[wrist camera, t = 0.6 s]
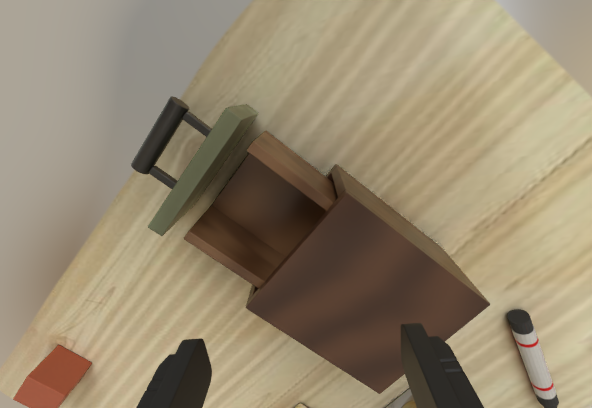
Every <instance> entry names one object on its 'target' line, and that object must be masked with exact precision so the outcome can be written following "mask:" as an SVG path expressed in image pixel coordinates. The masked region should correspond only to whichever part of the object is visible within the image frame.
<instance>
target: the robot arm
mask: <svg viewBox="0 0 592 408" xmlns="http://www.w3.org/2000/svg"><path fill="white" fill-rule="evenodd" d="M401 360H402V365H403V369H404V372H405V375H406V378H407V381H408V384H409V387H410V390H411V393H412V395H413V398H414V401H415V404H416V407H417V408H484V407H483V405H482V403H481V401H480V400H479V398H478V396H477V394H476V392H475V391H474V389H473V387H472V385H471V384H470V382H469V380H468V378H467V376H466V375H465V373H464V372H463V370H462V367H461V366H460V364H459V362H458V361H457V359H456V357H455V355H454V353H453V351H452V350H451V348H450V346H449V345H448V344H446V343H445V342H444V341H443V340H442V339H441V338H440V337H439V336H432V337H428V335H427V333H426V331H425V329H424V327H423V325H422V324H421V323H410V324H401ZM211 376H212V369H211V364H210V360H209V357H208V353H207V350H206V347H205V343H204V341H203V339H189V340H183V341H182V342H181V344H180V346H179V348H178V350H177V352H176V354H172V355H169V356H168V357H167V358H166V359H165V360H164V361H163V362H162V363H161V364H160V365H159V367H158V369H157V370H156V372H155V374H154V376H153V378H152V381H151V382H150V383H149V385H148V387H147V391H145V393H144V395H143V396H142V398H141V400H140V402H139V404H138V406H137V408H202V407H203V404H204V401H205V398H206V395H207V391H208V388H209V385H210V382H211Z"/></svg>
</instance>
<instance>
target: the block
mask: <svg viewBox="0 0 592 408" xmlns="http://www.w3.org/2000/svg"><path fill="white" fill-rule="evenodd" d="M91 364H92V363H91V362H90V361H88V360H86V359H84V358H82V357H80V356H79V355H77V354H75V353H73V352H71V351H69V350H67V349H66V348H64V347H62V346H60V345H58V346H57V347H56V348H55V349H54V350H53V351H52V352H51V353H50V354H49V355H48V356H47V357H46V358H45V359H44V360H43V361H42V362H41V363H40V364H39V365H38V366H37V367H36V368H35V369H34V370H33V371H32V372H31V373H30V374H29V375H28V376H27V377H26V379H25V381H24V382H23V384H22V385H21V387H20V389H19V390H18V392H17V394H16V395H15V397H14V398H13V400H15V401H17V402H19V403H21V404H23V405H25V406H27V407H29V408H59V406H60V405H61V404H62V403H63V401H64V400H65V399H66V398H67V396H68V395H69V394H70V393H71V391H72V390H73V389H74V388H75V386H76V385H77V384H78V382H79V381H80V380H81V378H82V377H83V375H84V374H85V373H86V371H87V370H88V368H89V367H90V366H91Z"/></svg>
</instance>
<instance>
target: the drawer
mask: <svg viewBox="0 0 592 408" xmlns="http://www.w3.org/2000/svg"><path fill="white" fill-rule="evenodd" d="M188 110H189V107H188V106H187V105H186V104H185V103H184V102H183V101H181V100H180V99H177V98H176V97H170V99H169V101H168V102H167V104H166V106H165V107H164V109H163V111H162V112H161V114H160V116H159V118H158V119H157V121H156V123H155V124H154V126H153V128H152V129H151V131H150V133H149V135H148V136H147V138H146V140H145V141H144V143H143V145H142V146H141V148H140V150H139V152H138V154H137V155H136V157H135V158H134V160H133V162H132V164H131V166H132V167H133V168H134V169H135V170H136V171H138V172H140V173H142V174H151V175H152V176H154V177H155V178H157V179H158V180H159V181H161V182H162V183H164V184H165V185H167V186H168V187H170V188H171V189H172V191H171V192H170V194H169V195H168V197H167V198H166V200H165V201H164V203H163V204H162V206H161V208H160V209H159V211H158V212H157V214H156V215H155V217H154V218H153V220H152V221H151V223H150V224H149V226H148V228H150V229H151V230H153V231H155V232H156V233H158V234H159V235H161V236H163V235H164V234H165V233H166V232H167V231H168V230H169V229H170V228H171V227H172V226H173V225H174V224H175V223H176V222H177V221H178V220H179V219H180V218H181V217H182V216H183V215H185V214H186V213H187V212H188V211H189V210H190V209H191V208H192V207H193V206H194V205H195V204H196V202H197V201H198V199H199V198H200V196H201V195H202V194H203V192H204V191H205V189H206V188H207V186H208V185H209V184H210V182H211V181H212V179H213V178H214V176H215V175H216V174H217V172H218V171H219V169H220V168H221V166H222V165H223V164H224V162H225V161H226V159H227V158H228V156H229V155H230V154H231V152H232V151H233V149H234V148H235V146H236V145H237V144H238V142H239V141H240V139H241V138H242V136H243V135H244V134H245V132H246V131H247V129H248V128H249V126H250V125H251V124H252V122H253V121H254V119H255V118H256V116H257V115H258V112H256V111H255V110H254V109H253V108H251V107H250V106H249V105H247V104H246V105H240V106H234V107H228V108H226V109H225V110H224V112H223V113H222V115H221V116H220V118H219V119H218V121H217V122H216V124H215V126H214V127H213V129H212V128H210V127H209V126H208V125H206V124H205V123H204V122H202V121H201V120H200V119H198V118H197V117H196V116H194V115H193V114H192V113H190V112H188ZM182 120H185V121H186V122H187V123H189V124H190V125H191V126H193V127H194V128H195V129H197V130H198V131H199V132H201V133H202V134H203V135H205V136H206V137H207V138H206V139H205V141H204V142H203V144H202V145H201V147H200V148H199V150H198V151H197V153H196V154H195V156H194V157H193V159H192V160H191V162H190V163H189V165H188V167H187V168H186V170H185V171H184V173H183V174H182V176H181V177H180V179H179V180H178V181H177V180H175V179H174V178H173V177H171V176H170V175H168V174H167V173H165V172H164V171H163V170H161V169H160V168H158V167H157V166H154V165H155V164H156V162H157V161H158V159H159V157H160V156H161V154H162V152H163V151H164V149H165V148H166V146H167V144H168V143H169V141H170V139H171V138H172V136H173V135H174V133H175V131H176V130H177V128H178V127H179V125H180V123H181V122H182ZM247 151H248V152H249V154H248V155H247V157H246V158H245V159H244V161H243V162H242V163H241V165H240V166H239V168H238V169H237V170H236V172H235V173H234V175H233V176H232V177H231V179H230V180H229V181H228V183H227V184H226V186H225V187H224V188H223V190H222V191H221V193H220V194H219V195H218V197H217V198H216V199H215V201H214V202H213V204H212V205H211V206H210V207H209V208H208V210H207V211H206V212H205V213H204V214H203V215H202V216H201V218H200V219H199V220H198V221H197V222H196V223H195V224H194V226H193V227H192V228H191V229H190V230H189V231H188V233H187V234H186V236H185V237H184V239H185V240H186V241H188V242H189V243H191V244H192V245H194V246H195V247H197V248H198V249H200V250H201V251H203V252H204V253H206V254H207V255H209V256H210V257H212V258H213V259H215V260H217V261H218V262H220V263H221V264H223V265H224V266H226V267H227V268H229V269H230V270H232V271H233V272H235V273H236V274H238V275H239V276H241V277H242V278H244V279H245V280H247V281H248V282H250V283H251V284H253V285H254V286H256V287H257V288H260V286H261V285H262V284H263V283H264V282H265V281H266V280H267V278H268V277H269V276H270V275H271V274H272V273H273V272H274V270H275V269H276V268H277V267H278V266H279V265H280V264H281V262H282V261H283V260H284V259H285V258H286V257H287V256H288V255H289V253H290V252H291V251H292V250H293V249H294V248H295V247H296V245H297V244H298V243H299V242H300V241H301V240H302V239H303V237H304V236H305V235H306V234H307V233H308V232H309V231H310V229H311V228H312V227H313V226H314V225H315V224H316V223H317V221H318V220H319V219H320V218H321V217H322V216H323V215H324V213H325V212H326V211H327V210H328V209H329V208H330V207H331V205H332V204H333V203H334V202H335V201H336V200H337V199H338V195H337V192H336V188H335V184H334V183H333V182H332V181H330V180H329V179H328V178H327V177H325V176H324V175H323V174H321V173H320V172H319V171H318V170H316V169H315V168H314V167H312V166H311V165H310V164H309V163H307V162H306V161H305V160H303V159H302V158H301V157H300V156H298V155H297V154H296V153H294V152H293V151H292V150H291V149H289V148H288V147H287V146H285V145H284V144H283V143H282V142H280V141H279V140H278V139H276V138H275V137H274V136H273V135H271V134H270V133H269V132H267V131H265V132H264V133H262V134H261V135H260V136H259V137H258V138H257V139H255V140H254V141H253V142H252V143H251V145H250V146H249V148H248V149H247Z"/></svg>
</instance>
